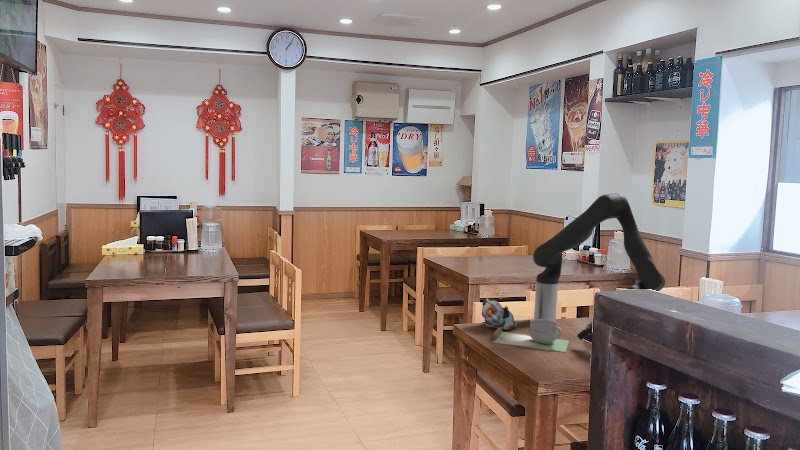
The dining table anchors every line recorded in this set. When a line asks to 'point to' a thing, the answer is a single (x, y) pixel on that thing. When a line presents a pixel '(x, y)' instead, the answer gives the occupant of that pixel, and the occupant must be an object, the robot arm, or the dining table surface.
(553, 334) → the teacup
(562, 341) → the putting green
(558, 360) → the dining table surface
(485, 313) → the lucky cat figurine
